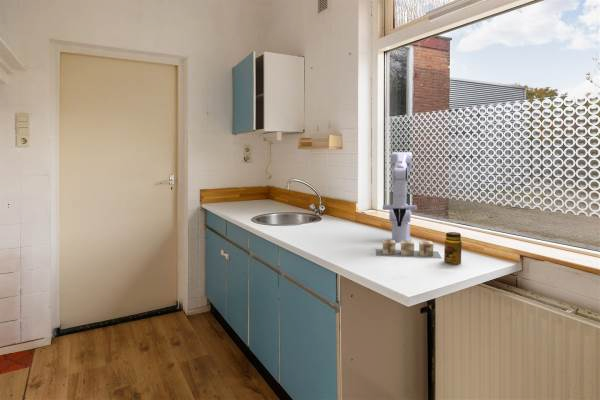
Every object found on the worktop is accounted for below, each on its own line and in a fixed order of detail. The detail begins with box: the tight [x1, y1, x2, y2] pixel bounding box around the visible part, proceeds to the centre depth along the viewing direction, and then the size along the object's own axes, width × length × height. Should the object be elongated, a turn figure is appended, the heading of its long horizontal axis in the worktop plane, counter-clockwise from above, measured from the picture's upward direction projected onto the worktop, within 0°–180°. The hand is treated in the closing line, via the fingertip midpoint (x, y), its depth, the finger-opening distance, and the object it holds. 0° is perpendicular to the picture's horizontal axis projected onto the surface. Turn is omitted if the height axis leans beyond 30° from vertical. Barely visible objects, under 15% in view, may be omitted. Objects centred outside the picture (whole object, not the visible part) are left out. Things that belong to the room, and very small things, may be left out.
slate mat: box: [375, 248, 443, 259], centre depth 161 cm, size 26×11×1 cm, turn 79°
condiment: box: [443, 231, 463, 266], centre depth 148 cm, size 7×8×12 cm
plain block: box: [400, 240, 415, 255], centre depth 161 cm, size 5×5×5 cm
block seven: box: [418, 240, 434, 256], centre depth 159 cm, size 5×5×5 cm
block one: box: [382, 239, 396, 255], centre depth 162 cm, size 5×5×5 cm
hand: (399, 226), depth 170 cm, fingers closed
